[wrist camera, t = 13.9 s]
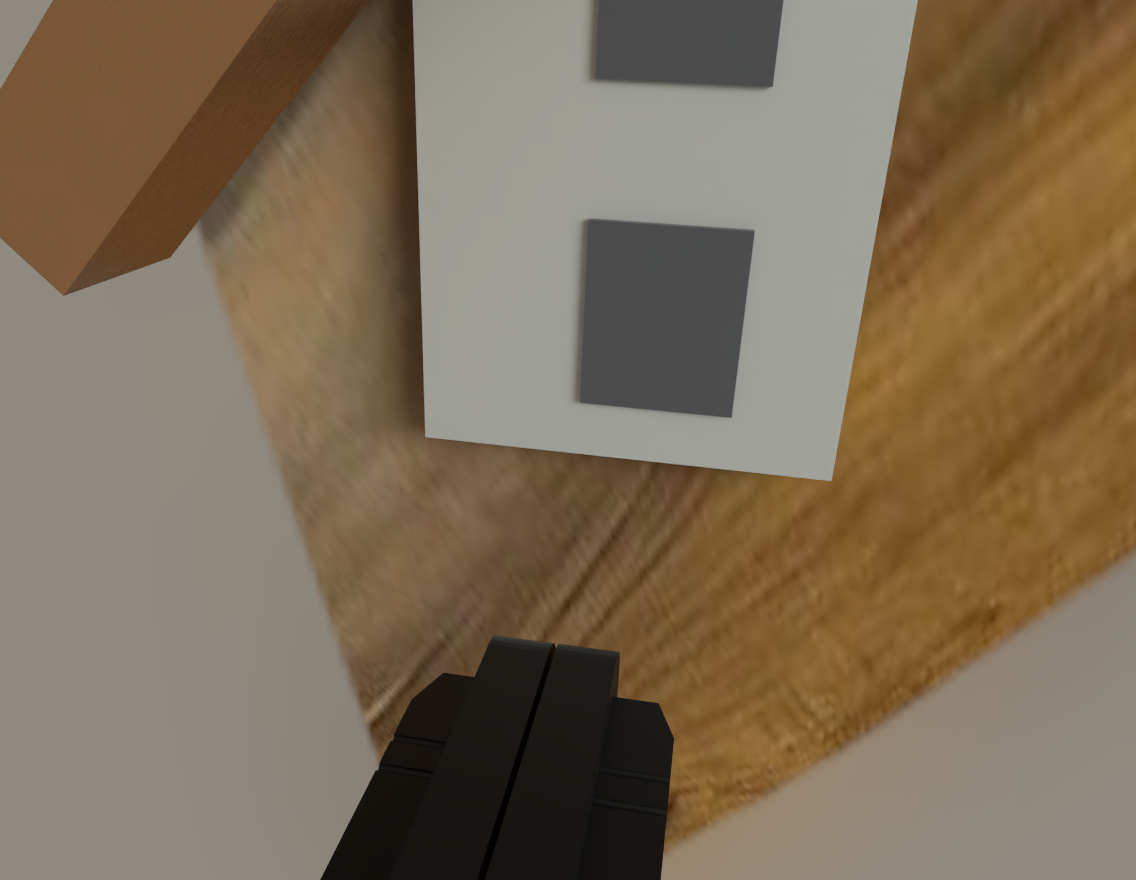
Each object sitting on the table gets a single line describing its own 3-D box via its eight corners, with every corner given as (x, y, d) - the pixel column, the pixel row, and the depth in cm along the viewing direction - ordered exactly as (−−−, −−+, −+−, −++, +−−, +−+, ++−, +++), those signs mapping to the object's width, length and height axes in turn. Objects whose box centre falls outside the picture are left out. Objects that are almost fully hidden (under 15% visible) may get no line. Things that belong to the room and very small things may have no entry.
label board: (1024, -681, 20) (1070, -799, 17) (825, 456, 31) (834, 494, 28) (420, -639, 22) (375, -739, 19) (442, 416, 33) (416, 448, 30)
